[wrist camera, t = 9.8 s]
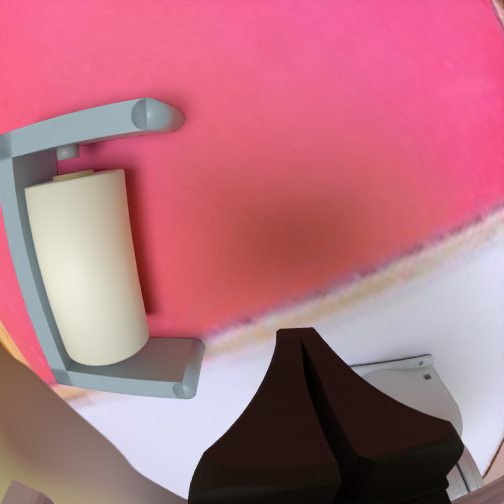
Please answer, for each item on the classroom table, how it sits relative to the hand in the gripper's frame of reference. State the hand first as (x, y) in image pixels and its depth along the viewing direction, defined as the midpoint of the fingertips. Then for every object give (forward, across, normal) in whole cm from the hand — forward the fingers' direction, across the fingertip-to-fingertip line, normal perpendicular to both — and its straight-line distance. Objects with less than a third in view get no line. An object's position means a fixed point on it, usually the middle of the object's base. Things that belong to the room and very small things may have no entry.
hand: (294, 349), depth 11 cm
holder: (+10, +13, -1) cm, 17 cm away
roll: (+7, +12, -1) cm, 14 cm away
